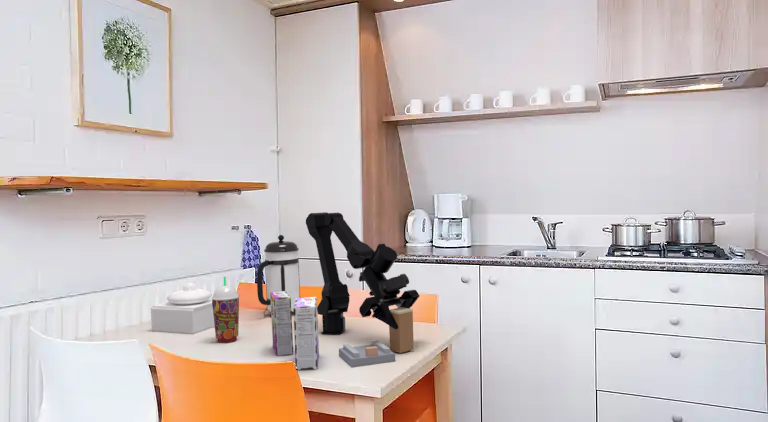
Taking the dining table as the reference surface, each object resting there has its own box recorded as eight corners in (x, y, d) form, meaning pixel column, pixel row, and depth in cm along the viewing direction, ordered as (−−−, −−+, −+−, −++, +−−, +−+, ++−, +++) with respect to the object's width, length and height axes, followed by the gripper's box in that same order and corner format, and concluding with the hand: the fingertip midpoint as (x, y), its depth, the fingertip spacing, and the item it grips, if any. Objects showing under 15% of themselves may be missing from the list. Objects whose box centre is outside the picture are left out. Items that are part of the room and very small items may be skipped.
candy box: (298, 356, 164) (295, 297, 164) (319, 355, 165) (317, 296, 164) (294, 370, 150) (292, 306, 150) (318, 369, 151) (315, 305, 150)
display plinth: (339, 355, 163) (338, 341, 163) (380, 350, 167) (379, 336, 167) (351, 367, 152) (351, 351, 152) (395, 361, 156) (394, 346, 156)
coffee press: (262, 311, 230) (259, 234, 230) (304, 309, 232) (301, 232, 231) (258, 320, 213) (255, 237, 212) (303, 318, 215) (300, 235, 214)
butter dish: (152, 332, 202) (149, 285, 201) (188, 320, 218) (186, 277, 218) (193, 335, 195) (191, 287, 195) (227, 323, 212) (225, 279, 211)
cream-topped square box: (389, 349, 166) (388, 309, 165) (403, 346, 169) (402, 307, 169) (400, 352, 162) (399, 312, 162) (413, 349, 166) (412, 309, 165)
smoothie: (216, 345, 179) (213, 279, 179) (210, 339, 187) (208, 276, 186) (244, 341, 183) (241, 277, 183) (237, 336, 191) (234, 274, 190)
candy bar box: (271, 347, 175) (269, 291, 174) (288, 345, 176) (286, 290, 176) (275, 356, 164) (273, 298, 164) (293, 354, 166) (291, 296, 165)
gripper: (364, 269, 162) (391, 314, 154) (414, 262, 174) (442, 304, 166) (347, 294, 168) (373, 339, 160) (397, 286, 180) (423, 327, 172)
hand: (404, 326), depth 164 cm, fingers closed on cream-topped square box, 5 cm apart
